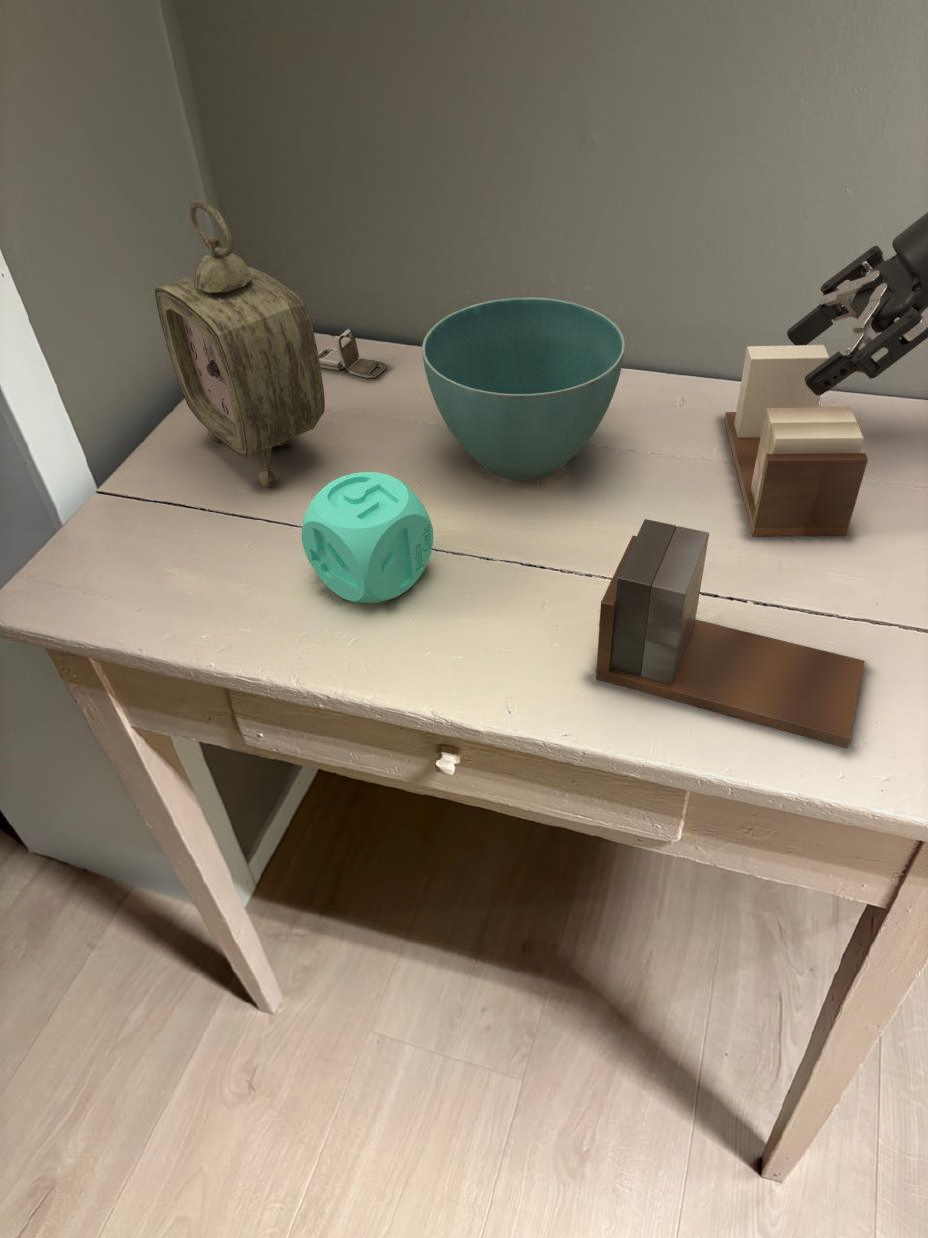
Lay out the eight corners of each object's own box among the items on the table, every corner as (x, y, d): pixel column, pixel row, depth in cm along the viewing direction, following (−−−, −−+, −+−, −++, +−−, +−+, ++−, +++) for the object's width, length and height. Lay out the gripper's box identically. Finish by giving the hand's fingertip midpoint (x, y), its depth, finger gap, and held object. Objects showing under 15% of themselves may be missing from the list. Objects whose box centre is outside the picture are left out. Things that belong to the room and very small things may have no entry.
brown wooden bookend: (861, 669, 72) (897, 567, 65) (847, 747, 67) (884, 646, 60) (625, 611, 78) (634, 511, 71) (595, 679, 73) (602, 579, 66)
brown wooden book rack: (846, 535, 84) (873, 443, 77) (752, 536, 84) (771, 444, 78) (804, 419, 97) (824, 332, 90) (724, 420, 98) (737, 333, 91)
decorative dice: (371, 618, 79) (359, 543, 74) (308, 577, 83) (292, 503, 78) (438, 569, 83) (431, 494, 78) (374, 532, 87) (364, 459, 82)
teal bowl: (484, 391, 104) (479, 283, 95) (643, 428, 97) (654, 315, 89) (398, 483, 93) (384, 369, 84) (572, 531, 86) (576, 413, 77)
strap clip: (311, 365, 110) (305, 331, 107) (326, 353, 112) (320, 319, 109) (374, 380, 107) (370, 345, 104) (388, 367, 109) (384, 332, 106)
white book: (810, 437, 93) (829, 357, 87) (737, 437, 93) (751, 358, 88) (806, 423, 95) (824, 344, 89) (733, 424, 95) (747, 345, 89)
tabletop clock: (193, 439, 100) (122, 193, 83) (269, 407, 104) (216, 166, 86) (263, 502, 92) (200, 242, 74) (342, 464, 95) (300, 209, 78)
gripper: (919, 174, 83) (763, 302, 92) (972, 241, 73) (791, 378, 82) (963, 233, 87) (808, 351, 95) (1020, 305, 76) (841, 430, 85)
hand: (800, 363), depth 89 cm, fingers open, 8 cm apart
